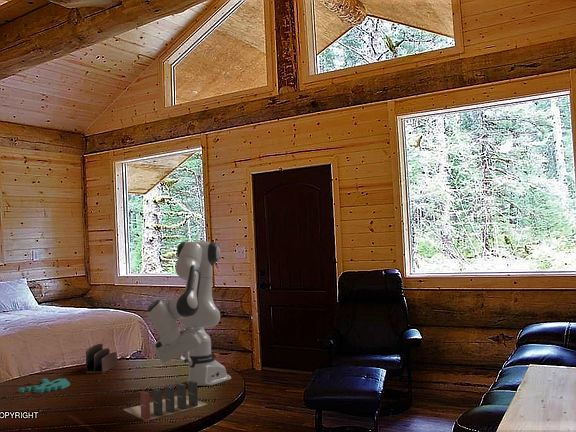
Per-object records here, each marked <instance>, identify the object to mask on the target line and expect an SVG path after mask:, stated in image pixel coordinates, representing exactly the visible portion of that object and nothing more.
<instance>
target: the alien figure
mask: <svg viewBox="0 0 576 432" xmlns="http://www.w3.org/2000/svg"><path fill="white" fill-rule="evenodd" d="M40 381H41V382H40V384H39V385H37V384H36V385H35V384H34V385H31V386H26V387H19V388H17V389H18V393H21V392H22V393H25V392H31V391H33V393H35V394H36V393H37V394H39V393H44V392H47V393H48V392H51V391H57V390H63V389H66V388H68V387H69V386H71V382H69V380H68V379H67V378H57V379H55V380H52V381H50V379H48V378H42V379H40Z"/></svg>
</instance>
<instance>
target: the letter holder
mask: <svg viewBox="0 0 576 432" xmlns="http://www.w3.org/2000/svg"><path fill="white" fill-rule="evenodd" d="M117 356H118V354H117V352H115V351H114V352H110V348H109V347H107V348H106V347H105V348H104V349H103V344H102V343H96V344H94V345H93V346H91V347H88V348H87V349H86V352H85V365H86V366H85V374H103V373H106V372H107V371H109V370H110V369H112V368H114V367H116V366H118V357H117Z"/></svg>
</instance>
